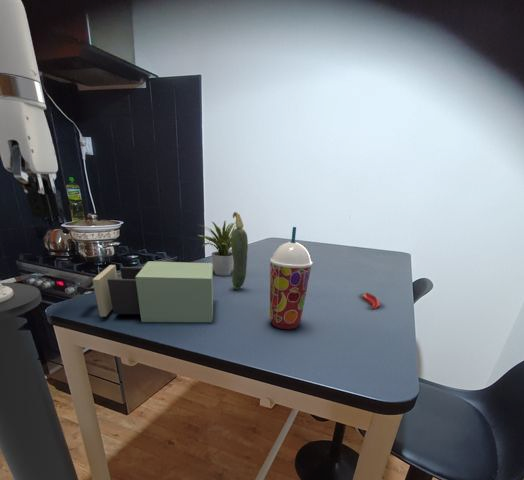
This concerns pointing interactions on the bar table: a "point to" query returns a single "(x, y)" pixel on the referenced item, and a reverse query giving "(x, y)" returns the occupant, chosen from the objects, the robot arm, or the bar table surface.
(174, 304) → the pale green box
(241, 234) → the vegetable
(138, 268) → the drawer
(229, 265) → the house plant
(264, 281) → the bar table surface
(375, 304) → the cayenne pepper
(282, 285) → the smoothie
